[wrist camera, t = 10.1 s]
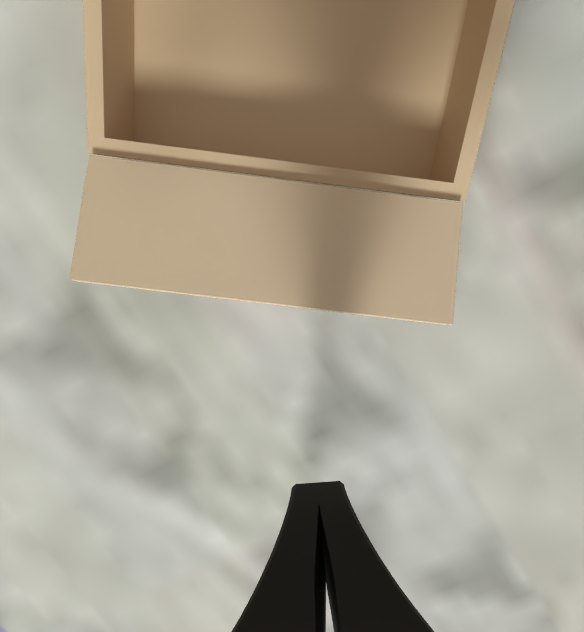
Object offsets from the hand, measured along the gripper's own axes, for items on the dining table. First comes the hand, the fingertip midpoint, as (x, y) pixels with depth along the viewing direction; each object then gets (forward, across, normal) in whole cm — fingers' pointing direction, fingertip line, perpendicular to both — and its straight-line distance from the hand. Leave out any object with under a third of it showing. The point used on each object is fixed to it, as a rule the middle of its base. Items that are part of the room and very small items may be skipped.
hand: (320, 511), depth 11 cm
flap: (+6, +1, -7) cm, 9 cm away
